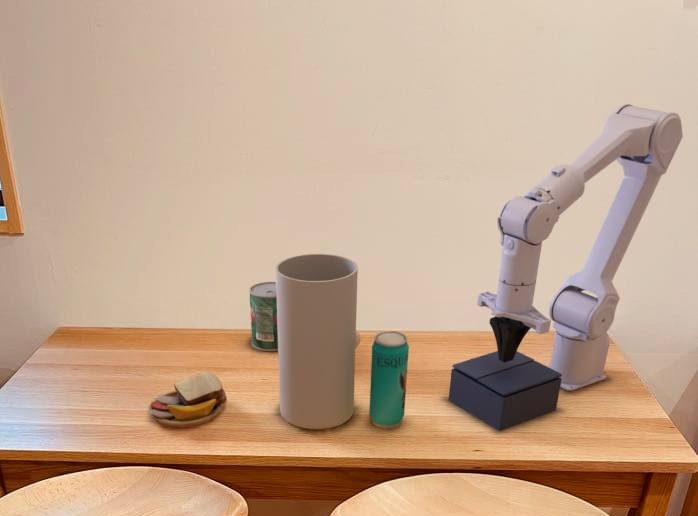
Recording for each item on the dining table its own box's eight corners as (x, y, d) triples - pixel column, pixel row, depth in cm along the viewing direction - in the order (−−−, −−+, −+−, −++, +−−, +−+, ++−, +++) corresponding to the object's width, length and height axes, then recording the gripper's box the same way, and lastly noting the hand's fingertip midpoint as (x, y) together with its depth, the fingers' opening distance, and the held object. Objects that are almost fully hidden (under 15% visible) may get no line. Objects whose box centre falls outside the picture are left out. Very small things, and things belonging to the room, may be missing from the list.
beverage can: (401, 432, 138) (407, 346, 129) (366, 429, 139) (370, 343, 130) (405, 415, 143) (411, 331, 134) (371, 412, 144) (374, 329, 135)
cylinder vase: (269, 424, 141) (263, 276, 126) (294, 391, 150) (292, 250, 135) (340, 436, 137) (343, 285, 122) (362, 402, 147) (367, 258, 132)
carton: (448, 400, 147) (451, 364, 143) (503, 381, 152) (508, 347, 148) (498, 431, 138) (504, 394, 134) (555, 410, 143) (562, 374, 139)
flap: (452, 366, 143) (452, 364, 143) (508, 349, 148) (508, 347, 148) (477, 380, 139) (477, 377, 138) (534, 361, 144) (534, 359, 143)
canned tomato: (250, 336, 170) (247, 282, 163) (289, 333, 171) (288, 280, 164) (253, 352, 164) (250, 297, 157) (293, 350, 164) (292, 295, 158)
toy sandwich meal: (142, 401, 148) (139, 377, 145) (217, 389, 152) (215, 364, 149) (157, 435, 139) (153, 409, 136) (236, 421, 142) (234, 395, 139)
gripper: (467, 271, 136) (458, 350, 144) (531, 299, 126) (518, 382, 134) (500, 262, 138) (490, 340, 147) (566, 289, 128) (551, 371, 137)
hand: (506, 359), depth 140 cm, fingers closed
